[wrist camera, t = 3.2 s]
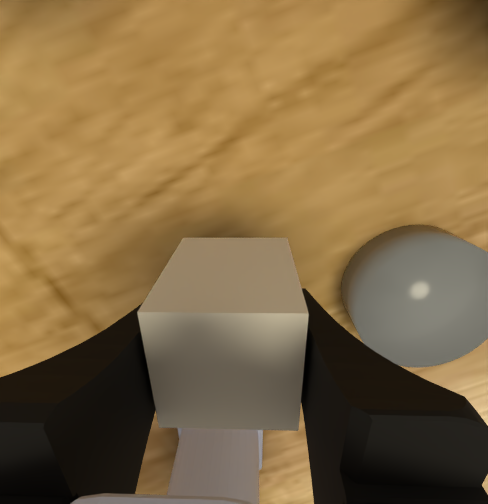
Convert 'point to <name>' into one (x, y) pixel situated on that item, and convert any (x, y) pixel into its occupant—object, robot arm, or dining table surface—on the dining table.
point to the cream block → (226, 336)
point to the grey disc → (418, 295)
